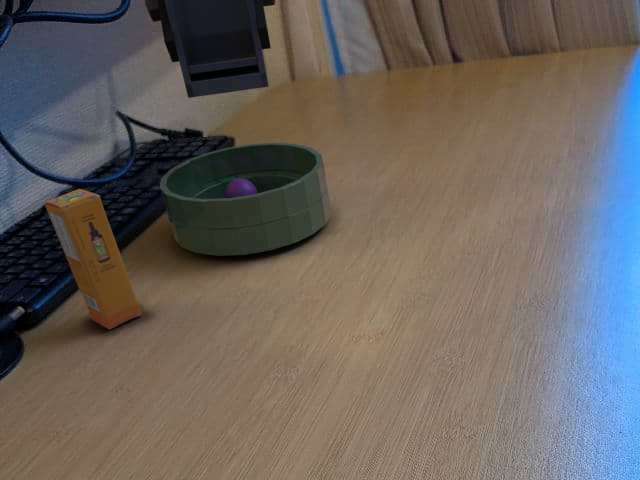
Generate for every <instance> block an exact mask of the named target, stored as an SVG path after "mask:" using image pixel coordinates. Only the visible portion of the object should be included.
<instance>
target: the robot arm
mask: <svg viewBox="0 0 640 480" xmlns="http://www.w3.org/2000/svg"><path fill="white" fill-rule="evenodd" d="M253 1H254V7H255V13H256V19H257V25H258V30H259V35H260V40H261V45H262V50H271V48H272V46H271V41H270V36H269V30H268V24H267V18H266V11H265V8H266V7H271V6H275V5H276V0H253ZM144 4H145V7H146V10H147V12H148V16H149V18H150V19H151V21H152V22H154V23H155V22H161V30H162V36H163V41H164V44H165V47H166V50H167V52H168V55H169V58H170V60H171V63H178V62H179V58H178V54H177V50H176V45H175V41H174V37H173V33H172V29H171V26H170V22H169V18H168V13H167V9H166V5H165V1H164V0H144Z"/></svg>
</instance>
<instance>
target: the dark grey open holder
mask: <svg viewBox="0 0 640 480" xmlns="http://www.w3.org/2000/svg"><path fill="white" fill-rule="evenodd" d="M164 1H165V5H166V9H167V13H168V18H169V22H170V26H171V29H172V33H173V37H174V41H175V45H176V50H177V54H178V58H179V66H180V71H181V74H182V79H183V83H184V87H185V91H186V95H187V98H188V99H193V98H199V97H205V96H213V95H218V94H219V95H220V94H227V93H235V92H240V91H247V90H255V89H256V90H257V89H261V88H262V89H263V88H268V87H270V84H269V76H268V67H267V62H266V61H267V60H266V56H265V51H264V50H265V49H263V50H262V45H261V40H260V35H259V30H258V25H257V19H256V13H255V7H254V1H253V0H164Z"/></svg>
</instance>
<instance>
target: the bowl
mask: <svg viewBox="0 0 640 480" xmlns="http://www.w3.org/2000/svg"><path fill="white" fill-rule="evenodd" d="M237 178H243V179H246V180H248V181H250V182H251V183H252V184H253V185H254V186H255V188H256V190H257V194H254V195H247V196H241V197H234V198H225V189H226V187H227V185H228V184H229V182H231V181H232V180H234V179H237ZM159 190H160V194H161V197H162V200H163V204H164V207H165V210H166V213H167V218H168V222H169V224H170V228H171V231H172V235H173V238H174V240H175V241H176V242H177V244H178V245H179V246H180V247H181V248H182V249H185V250H187V251H190V252H192V253H195V254H200V255H206V256H208V255H209V256H215V257H218V256H219V257H221V256H225V257H226V256H245V255H246V256H247V255H253V254H259V253H265V252H270V251H273V250H277V249H281V248H284V247H287V246H290V245H292V244H295V243H297V242H300V241H301V240H304V239H306V238H308V237H310V236H312V235H315V233H316V232H318V231H319V230H320V229H322V228H324V226H326V225H327V223H328V221H329V219H330V218H331V215H332V210H331V204H330V197H329V196H330V195H329V190H328V183H327V176H326V171H325V164H324V160H323V156H322V154H321V153H320V152H319V151H317V150H315V149H314V148H313V147H310V146H305V145H301V144H297V143H287V142H286V143H285V142H263V143H262V142H261V143H249V144H243V145H237V146H231V147H225V148H221V149H217V150H213V151H209V152H205V153H203V154H200V155H197V156H194V157H192V158H189V159H186V160H185V161H183V162H181V163H179V164H178V165H176V166H174V167H172V168H171V169H169V170H168V171H167V172H166V173H165V174H164V175H163V176H162V177H161V178H160V184H159Z"/></svg>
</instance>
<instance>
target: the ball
mask: <svg viewBox="0 0 640 480" xmlns="http://www.w3.org/2000/svg"><path fill="white" fill-rule="evenodd" d="M254 194H257V190H256V188H255V186H254V185H253V184H252V183H251V182H250V181H248V180H246V179H243V178H237V179H234V180H232V181H231V182H229V184H228V185H227V187H226V189H225V198H234V197H241V196H247V195H254Z"/></svg>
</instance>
